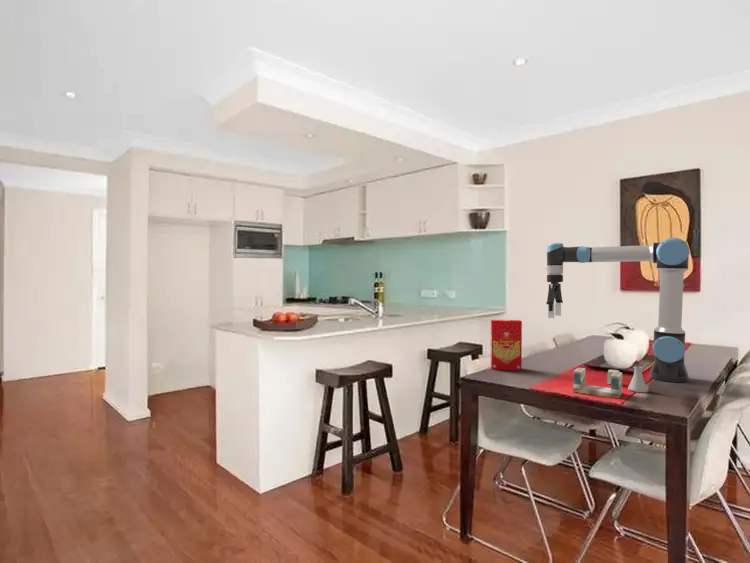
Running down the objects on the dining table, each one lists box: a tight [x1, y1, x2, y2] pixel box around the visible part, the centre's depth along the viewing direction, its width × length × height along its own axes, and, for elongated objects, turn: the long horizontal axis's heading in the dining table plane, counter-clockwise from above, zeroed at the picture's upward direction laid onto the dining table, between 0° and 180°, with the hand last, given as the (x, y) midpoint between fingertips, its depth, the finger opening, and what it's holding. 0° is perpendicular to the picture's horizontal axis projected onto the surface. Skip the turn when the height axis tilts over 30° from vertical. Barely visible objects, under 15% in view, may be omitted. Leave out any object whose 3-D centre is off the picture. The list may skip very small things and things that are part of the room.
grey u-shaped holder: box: [572, 367, 623, 399], centre depth 188 cm, size 17×10×9 cm, turn 55°
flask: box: [627, 365, 649, 393], centre depth 191 cm, size 7×7×10 cm
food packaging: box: [490, 319, 523, 371], centre depth 233 cm, size 15×5×25 cm, turn 82°
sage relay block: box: [607, 369, 620, 384], centre depth 202 cm, size 4×5×6 cm
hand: (554, 316), depth 227 cm, fingers open, 13 cm apart
